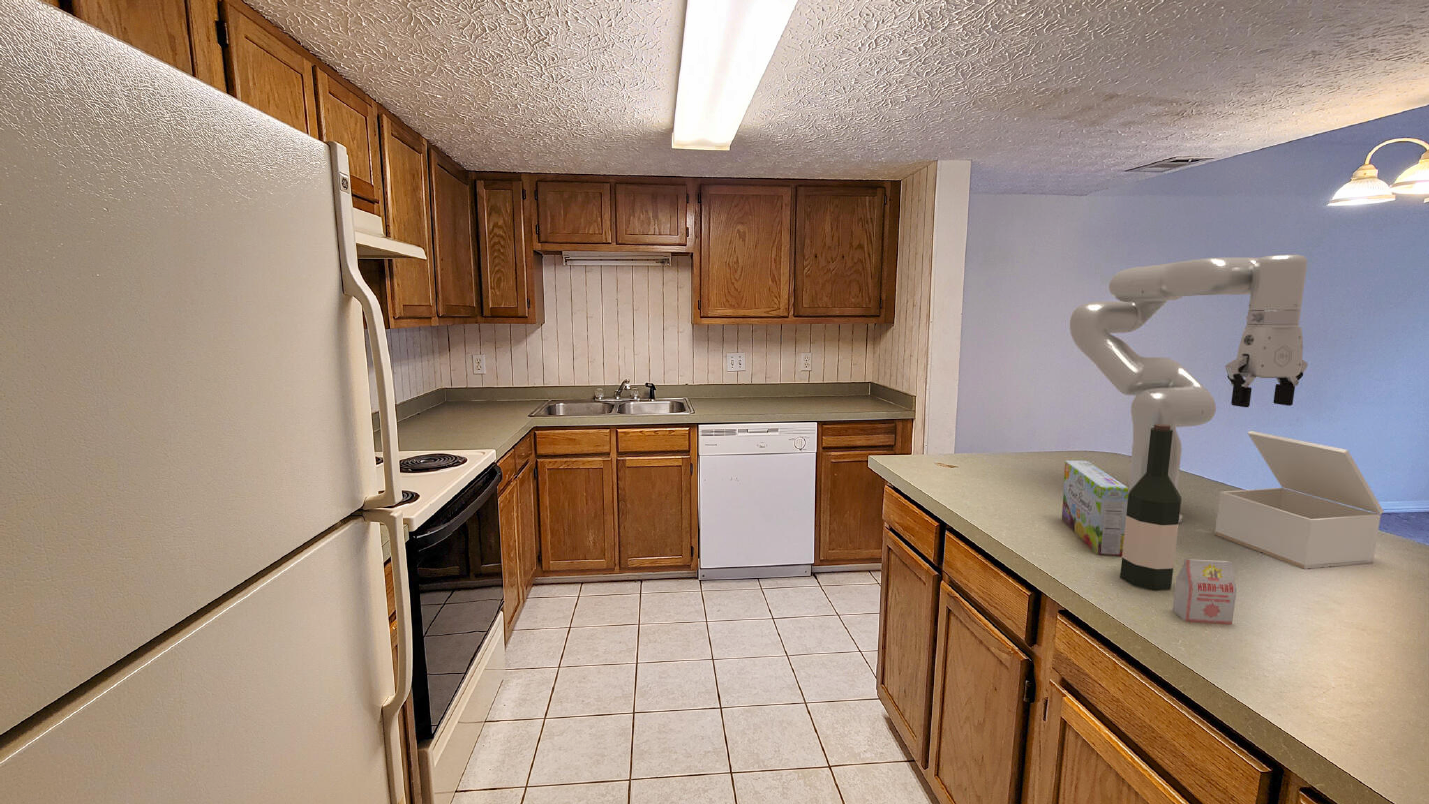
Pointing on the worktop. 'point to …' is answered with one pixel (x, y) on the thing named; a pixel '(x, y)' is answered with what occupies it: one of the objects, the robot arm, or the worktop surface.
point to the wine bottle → (1152, 519)
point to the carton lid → (1316, 470)
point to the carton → (1298, 527)
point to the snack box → (1095, 507)
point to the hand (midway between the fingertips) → (1261, 405)
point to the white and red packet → (1205, 591)
